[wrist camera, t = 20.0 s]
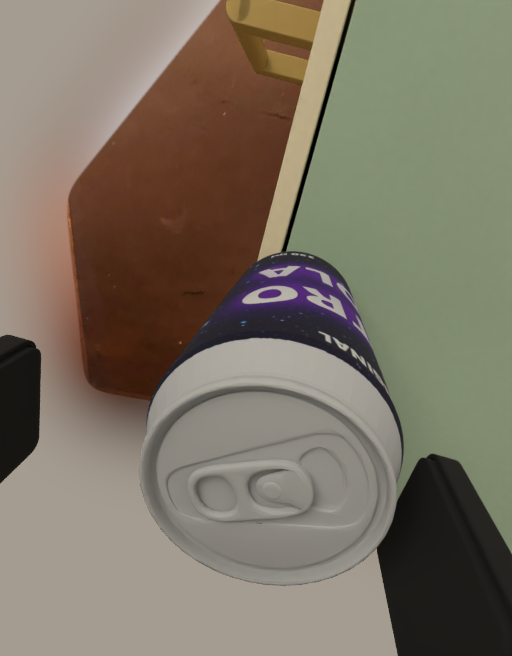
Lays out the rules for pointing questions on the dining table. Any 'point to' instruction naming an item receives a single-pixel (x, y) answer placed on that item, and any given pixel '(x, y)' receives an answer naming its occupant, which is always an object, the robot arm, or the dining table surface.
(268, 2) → the cupboard door
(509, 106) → the cupboard
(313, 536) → the beverage can
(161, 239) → the dining table surface
